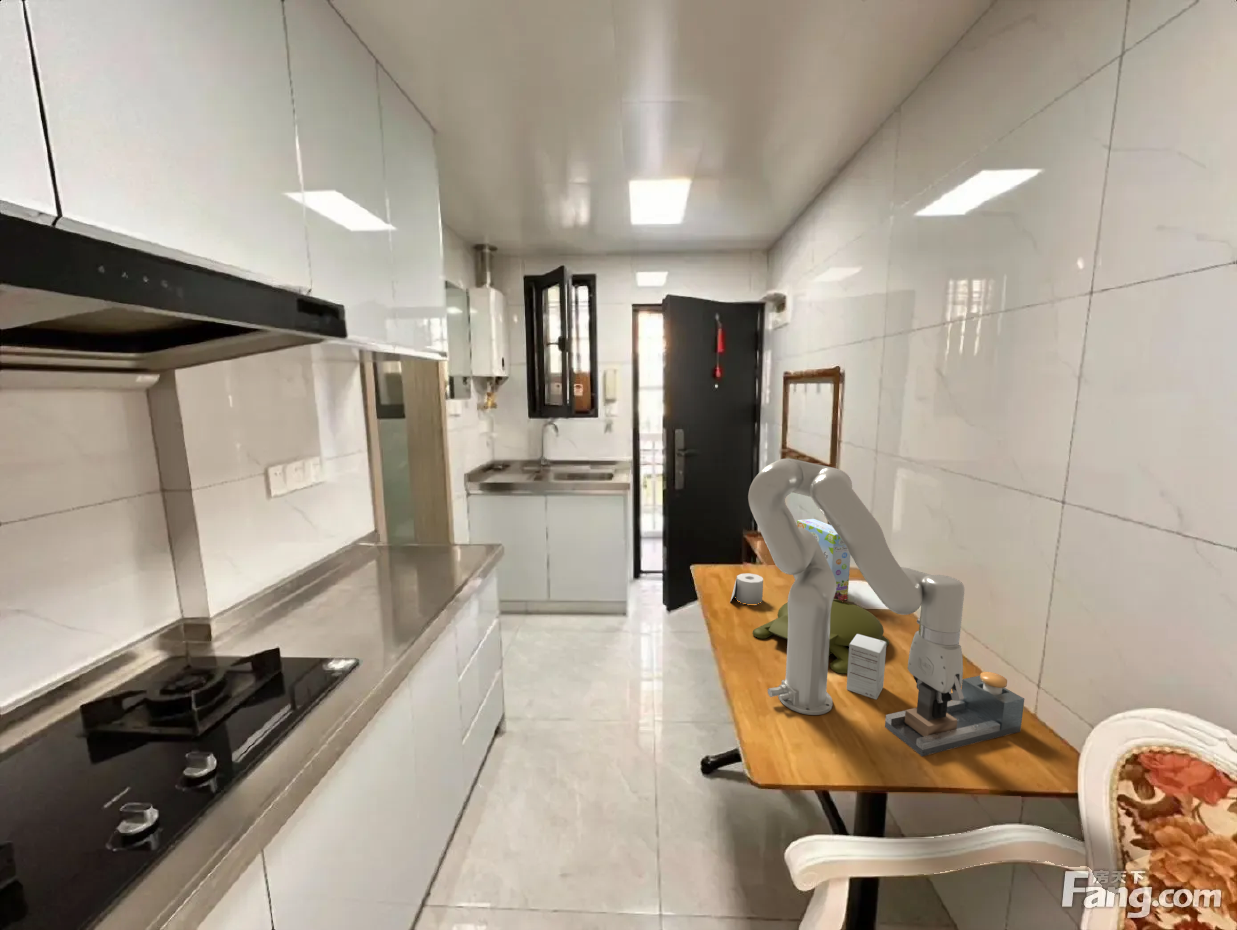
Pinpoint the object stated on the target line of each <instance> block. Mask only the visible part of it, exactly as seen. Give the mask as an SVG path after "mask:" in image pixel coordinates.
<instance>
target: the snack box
mask: <svg viewBox="0 0 1237 930" xmlns="http://www.w3.org/2000/svg"><path fill="white" fill-rule="evenodd" d="M796 522H797V523H796V524H797V526H798V527H800V528H803V529H806V530H808V531H809V532H810V533H811V534H812V535H813V536H814V537H815V538H816V540H817V541H818V543H819V545H820V547H821V549H822V552H823V554H824V556H825V558H826V560H827V562H828V564H829V566H830V568H831V570H832V572H833V575H834V577H835V580H836V585H837V586H836V593H835V596H834V599H838V600H842V601H845V600H844V599H848V597H849V583H850V570H851V569H850V568H851V555H850V553H849V551H848V549H847V547H846V545H845V543H844V542H843V541H842V539H841V538H840V536H839V535H838V534H837V532H836V531H835V530H834V528H833V527H832V526H831V524H830V523H826V522H823V521H821V520H818V519H815V518H809V519H808V518H807V519H798V520H796ZM848 600H849V599H848Z"/></svg>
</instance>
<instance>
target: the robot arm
mask: <svg viewBox="0 0 1237 930" xmlns="http://www.w3.org/2000/svg"><path fill="white" fill-rule="evenodd" d="M790 494H797V495H801V496H806V497H810V498H811V499H812V502H813V503H814V505H816V507H817V509H818V510H819V511H820V513H821V514H822V515H823V516H824V518H825V519H826V520H827V522H828V524H829V525H831V526H832V527H833V528H834V530H835V531H836V532H837V534H838V535H839V536H840V538H841V539H842V541H843V542H844V543H845V545H846V547H847V549H848V551H849V553H850V557H851V558H852V559H853V562H854V563H855V564H856V567H857V568H858V570H859V571H860V574H861V575H862V576H863V578H864V579H865V581H866V582H867V584H868V586H869V587H870V588H871V589H872V591H873V592H874V593H875V595H876V596H877V598H878V599H879V601H881V603H882V604H883V605H884V606H885V607H886V608H887V609H888V610H890V611H891V612H893V613H895V614H898V615H900V616H901V615H902V616H903V615H904V616H905V615H911V614H913V613H915V612H917V610H919V608H920V616H919V618H917V619H916V623H917V624H918V630H917V631H915V633H914V636H913V638H912V642H911V644H910V649H909V654H908V661H907V671H908V672H909V674H911V675H912V676H913V679H914V681H915V682H916V689H917V690H918V691H919V684H920V683H926V684H927V685H929V686H931V687H932V688H934V689H935V690H936V700H934V703H933V713H932V716H933V718H935V719H937V718H941V717H945V716H946V713H947V703H948V701H952V700H955V701H959V700H964V696H963V693H962V690H961V689H962V680H963V679H964V678H963V676H964V666H963V665H964V662H963V661H964V660H963V650H962V649H963V648H962V646H961V644H960V637H961V628H962V619H963V618H962V617H963V610H964V609H963V608H964V600H965V585H964V584H963V583H962V582H961V581H960V579H957V578H955V577H952V576H948V575H944V574H943V575H942V574H930V573H926V572H923V571H919V570H916V569H912V568H909V567H904V566H900V565H899V563H898V561H897V560H896V558H895V557H894V555H893V554H892V551H891V550H890V548H889V546H888V543H887V541H886V537H885V535H884V532H883V529H882V527H881V525H880V523H879V522H878V521H877V519H876V518H875V517H874V515H873V514H872V513H871V512H870V510H869V509H868V507H867V506H866V505H865V504H864V502H863V501H862V500H861V499H860V497H859V496H858V495H857V493H856V492H855V490H854V489H853V482H852V479H851V477H850V475H849V474H848V473H846V472H845V471H844V470H842V469H839V468H836V467H832V466H827V465H822V464H818V463H813V462H808V461H803V460H800V459H799V460H798V459H796V458H795V459H794V458H780V459H778V460H776V461H774V462H771V463H769V464H768V465H766V466H765V467H763V468H762V469H761V470H760V471H759V472H758V474H756V476H755V477H754V478H753V480H752V482H751V484H750V486H749V490H748V495H747V499H748V506H749V509H750V512H751V513H752V516H753V518H754V520H755V522H756V524H757V526H758V528H759V531H760V534H761V537H762V538H763V541H764V542H765V545H766V547H767V549H768V550H769V554H770V556H771V558H772V560H773V563H774V564H775V566H776V567H777V569H779V570H780V572H781V573H783V574H785V575H791V576H793V579H794V581H793V583H792V584H791V586H790V589H789V593H788V596H787V602H788V640H787V643H786V644H787V646H786V647H787V648H786V663H785V665H786V666H785V679H782V680H781V684H779V685H778V686H777V687H769V688H767V694H768V696H769V697H770V698H773V697H778V700H779V701H780V702H781V703H782V704H783V705H784V706H785V707H787V708H788V709H790V710H791V711H794V712H796V713H798V714H803V715H808V716H809V715H810V716H819V715H824V714H827V713H829V712H830V711H831V710H832V708H833V703H834V702H833V698H832V696H831V695H830V693H828V692H827V688H828V687H827V686H828V685H827V684H828V674H829V673H828V670H829V658H830V657H829V656H830V655H829V640H830V614H831V606H832V602H833V599H834V596H835V593H836V586H837V585H836V580H835V577H834V575H833V572H832V570H831V568H830V566H829V564H828V562H827V560H826V558H825V556H824V554H823V552H822V549H821V547H820V545H819V543H818V541H817V540H816V538H815V537H814V536H813V535H812V534H811V533H810V532H809V531H808V530H806V529H803V528H800V527H798V526H797V523H796V522H797V521H796V520H795V517H794V516H793V514H792V511H791V510H790V509H789V507H788V506H787V504H786V498H787V497H788V496H790ZM943 693H944V695H943Z"/></svg>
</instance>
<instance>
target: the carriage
mask: <svg viewBox="0 0 1237 930" xmlns="http://www.w3.org/2000/svg"><path fill="white" fill-rule="evenodd" d="M917 692H918V694H917V702H916V703H917V704H916V705H917V706H916V707H914V708H913V707H912V708H909V709H905V711H906V712H905V723H906V724H907V725H909V726H910V727H912V728H913V729H914V730H916V731H917V732H918V733H920V734H921V735H922V736H924V737H925V736H929V735H933V734H937V733H942V732H946V731H950V730H954V729H957V719H956V718H954V717H953V716H951V715H949V714H948V713H946V716H945V717H941V718H937V719H935V718H933V716H932V713H933V703H934V700H936V690H935V689H934V688H932V687H931V686H929V685H927V684H926V683H920V684H919V690H918V691H917ZM943 695H944V693H943Z"/></svg>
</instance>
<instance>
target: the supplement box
mask: <svg viewBox="0 0 1237 930" xmlns="http://www.w3.org/2000/svg"><path fill="white" fill-rule="evenodd" d="M848 647H849V648H848V651H849V659H848V673H846V674H847V677H846V690H847V691H849V692H853V693H856V694H859V695H861V696H864V697H867V698H870V699H874V700H877V699H878V698H879V697H880V694H881V692H882V690H883V688H884V684H885V683H884V681H885V668H886V654H887V646H886V642H885V641H882V640H878V639H875V638H871V637H867V636H863V635H860V634H856V636H855V637H854V639H853V640H852V641H851V643H850V644H849V646H848Z"/></svg>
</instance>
